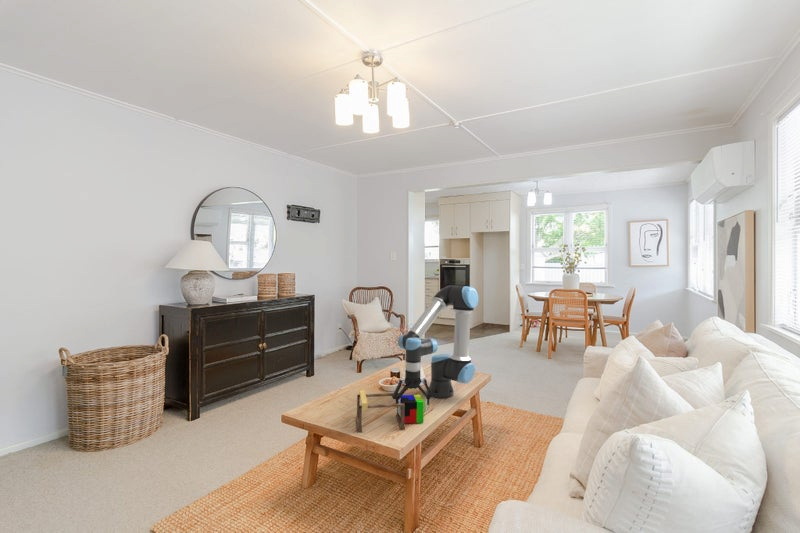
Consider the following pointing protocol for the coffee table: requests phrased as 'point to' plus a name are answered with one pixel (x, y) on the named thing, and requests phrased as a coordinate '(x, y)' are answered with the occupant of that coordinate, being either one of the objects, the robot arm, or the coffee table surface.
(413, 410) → the puzzle toy
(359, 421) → the rack
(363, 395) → the bar
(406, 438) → the coffee table surface
